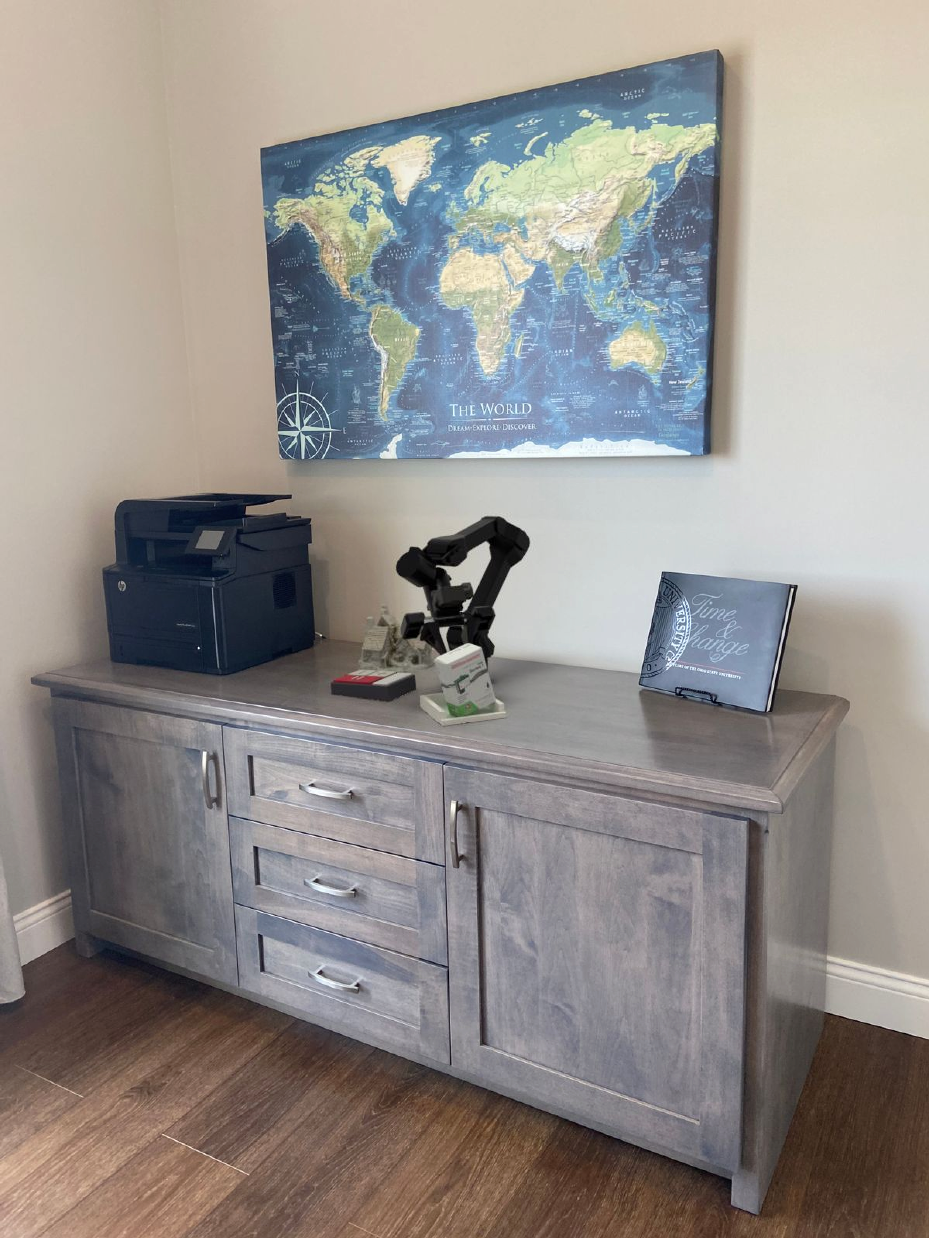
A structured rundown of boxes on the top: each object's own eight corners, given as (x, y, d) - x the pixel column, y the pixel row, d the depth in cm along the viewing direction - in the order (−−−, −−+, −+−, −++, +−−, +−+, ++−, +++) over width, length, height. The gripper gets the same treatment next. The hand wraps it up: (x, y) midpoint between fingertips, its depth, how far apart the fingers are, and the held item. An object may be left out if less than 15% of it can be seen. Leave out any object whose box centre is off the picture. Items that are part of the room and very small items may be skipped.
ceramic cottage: (347, 670, 221) (348, 607, 218) (390, 658, 234) (392, 599, 231) (399, 682, 212) (401, 617, 209) (441, 669, 226) (443, 608, 223)
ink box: (461, 719, 178) (445, 664, 174) (448, 713, 182) (432, 659, 178) (497, 700, 182) (482, 645, 178) (483, 695, 186) (468, 641, 182)
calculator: (359, 668, 209) (415, 670, 202) (361, 686, 210) (417, 690, 202) (329, 679, 200) (386, 682, 192) (331, 698, 200) (388, 703, 193)
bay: (480, 699, 192) (480, 687, 192) (506, 717, 180) (506, 705, 179) (420, 707, 188) (419, 695, 188) (442, 726, 175) (441, 713, 175)
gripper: (401, 573, 182) (420, 639, 173) (491, 566, 188) (513, 629, 180) (392, 606, 190) (410, 670, 182) (478, 599, 197) (499, 660, 188)
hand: (458, 657), depth 183 cm, fingers open, 5 cm apart
